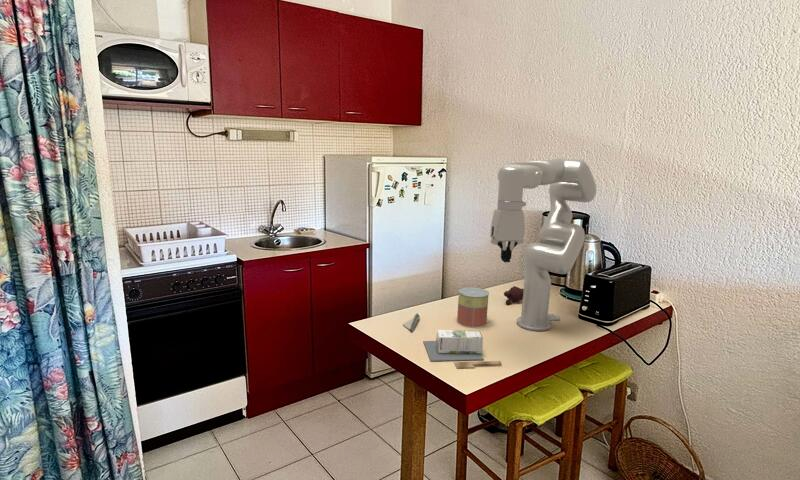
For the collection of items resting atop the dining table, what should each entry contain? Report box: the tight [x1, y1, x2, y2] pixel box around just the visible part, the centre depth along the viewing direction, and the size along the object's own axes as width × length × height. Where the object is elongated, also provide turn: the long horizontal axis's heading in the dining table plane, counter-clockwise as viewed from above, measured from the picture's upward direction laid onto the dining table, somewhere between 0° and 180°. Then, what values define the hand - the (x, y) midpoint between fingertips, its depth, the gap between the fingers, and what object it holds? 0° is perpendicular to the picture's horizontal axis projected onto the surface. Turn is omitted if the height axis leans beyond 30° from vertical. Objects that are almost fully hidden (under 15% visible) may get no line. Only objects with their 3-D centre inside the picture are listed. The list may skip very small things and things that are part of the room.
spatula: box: [453, 360, 503, 370], centre depth 140 cm, size 14×4×1 cm, turn 97°
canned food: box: [456, 286, 490, 329], centre depth 172 cm, size 11×11×12 cm
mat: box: [423, 340, 485, 363], centre depth 149 cm, size 17×14×1 cm
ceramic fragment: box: [402, 313, 421, 333], centre depth 169 cm, size 14×5×4 cm, turn 166°
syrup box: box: [435, 329, 484, 355], centre depth 148 cm, size 6×6×14 cm
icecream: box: [503, 285, 524, 306], centre depth 197 cm, size 7×7×15 cm
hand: (505, 261), depth 148 cm, fingers closed
